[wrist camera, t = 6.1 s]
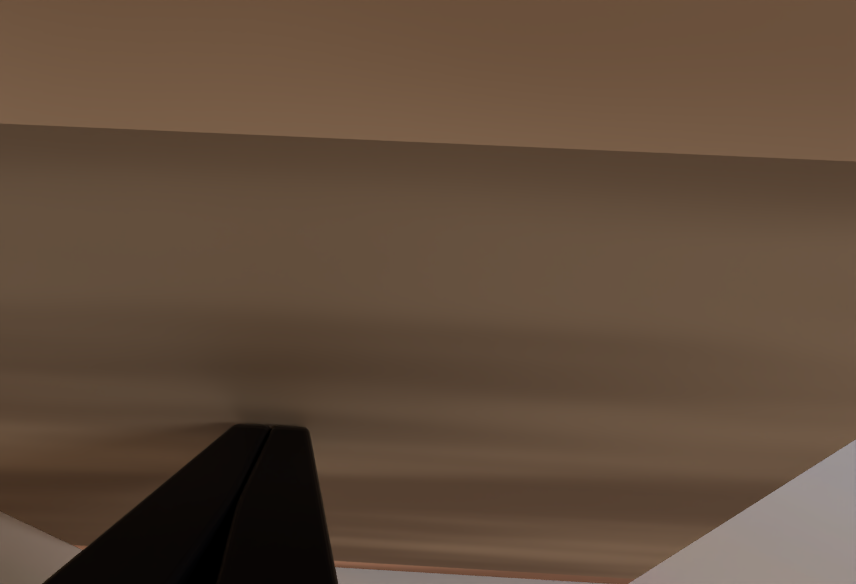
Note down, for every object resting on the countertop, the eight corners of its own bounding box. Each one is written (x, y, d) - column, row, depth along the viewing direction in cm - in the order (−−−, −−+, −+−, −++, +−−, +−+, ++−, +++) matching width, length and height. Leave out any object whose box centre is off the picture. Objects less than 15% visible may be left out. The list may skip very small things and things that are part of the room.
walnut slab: (626, 584, 16) (1265, 179, 4) (87, 551, 16) (-913, 82, 4) (616, 451, 17) (1050, -143, 5) (123, 424, 18) (-532, -197, 6)
